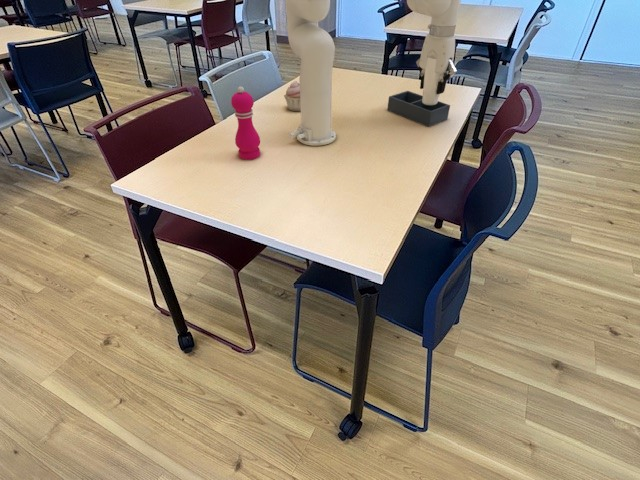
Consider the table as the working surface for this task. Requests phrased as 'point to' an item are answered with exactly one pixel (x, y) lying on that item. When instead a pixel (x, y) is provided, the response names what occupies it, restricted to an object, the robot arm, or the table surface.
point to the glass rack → (417, 108)
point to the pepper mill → (245, 125)
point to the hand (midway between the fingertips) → (431, 90)
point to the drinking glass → (430, 83)
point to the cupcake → (293, 97)
